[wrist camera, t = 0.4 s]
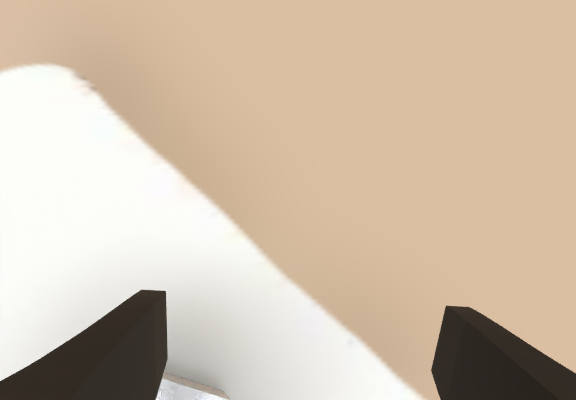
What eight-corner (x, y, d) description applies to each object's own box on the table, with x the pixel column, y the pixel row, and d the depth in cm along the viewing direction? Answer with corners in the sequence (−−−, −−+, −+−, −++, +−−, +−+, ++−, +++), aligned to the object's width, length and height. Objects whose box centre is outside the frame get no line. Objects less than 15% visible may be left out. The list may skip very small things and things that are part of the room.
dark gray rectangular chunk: (210, 429, 33) (215, 447, 27) (90, 392, 32) (71, 403, 26) (223, 391, 34) (231, 400, 29) (107, 353, 33) (92, 356, 27)
